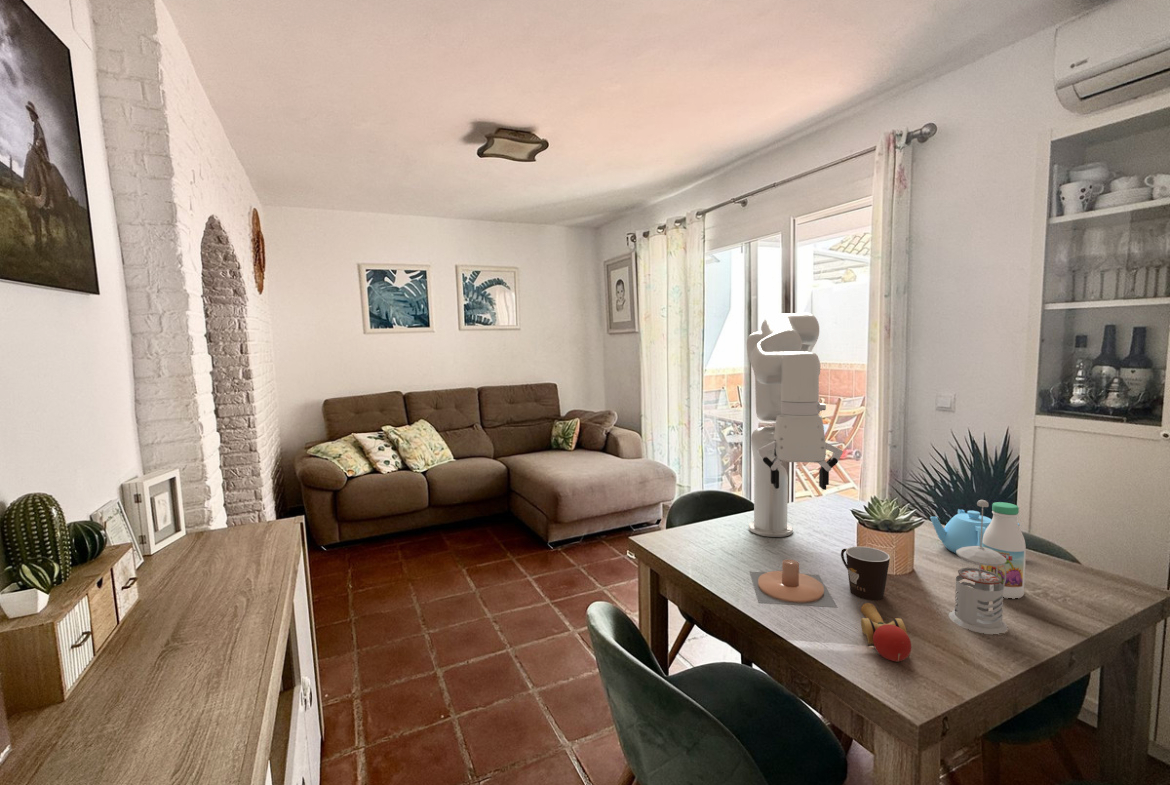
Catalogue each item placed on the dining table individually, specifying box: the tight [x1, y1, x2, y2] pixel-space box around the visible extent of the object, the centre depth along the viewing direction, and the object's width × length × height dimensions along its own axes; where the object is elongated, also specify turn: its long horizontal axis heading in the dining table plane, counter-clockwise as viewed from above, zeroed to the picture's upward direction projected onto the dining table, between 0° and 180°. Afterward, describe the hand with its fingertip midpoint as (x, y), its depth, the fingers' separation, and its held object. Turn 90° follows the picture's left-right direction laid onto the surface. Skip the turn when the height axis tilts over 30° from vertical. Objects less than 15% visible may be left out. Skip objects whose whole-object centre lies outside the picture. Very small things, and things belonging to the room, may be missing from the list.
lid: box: [758, 558, 824, 603], centre depth 122 cm, size 14×14×6 cm
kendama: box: [860, 602, 912, 663], centre depth 102 cm, size 8×6×18 cm
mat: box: [749, 570, 839, 608], centre depth 122 cm, size 16×16×1 cm
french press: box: [948, 499, 1009, 635], centre depth 107 cm, size 10×12×25 cm
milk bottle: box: [981, 501, 1027, 600], centre depth 119 cm, size 8×8×20 cm
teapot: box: [929, 508, 1020, 555], centre depth 143 cm, size 15×15×11 cm
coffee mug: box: [840, 545, 891, 601], centre depth 120 cm, size 12×9×10 cm
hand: (799, 487), depth 117 cm, fingers open, 9 cm apart
